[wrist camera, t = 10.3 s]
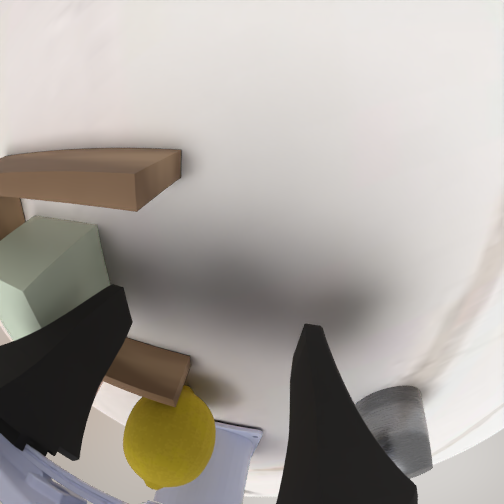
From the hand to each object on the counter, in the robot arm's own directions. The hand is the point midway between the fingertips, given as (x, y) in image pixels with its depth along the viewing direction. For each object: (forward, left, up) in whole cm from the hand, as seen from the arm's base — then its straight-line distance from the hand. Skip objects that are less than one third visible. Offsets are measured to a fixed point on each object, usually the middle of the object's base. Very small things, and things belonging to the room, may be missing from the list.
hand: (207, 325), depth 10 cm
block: (0, +8, -2) cm, 8 cm away
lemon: (-9, +2, -2) cm, 9 cm away
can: (-8, -12, -2) cm, 15 cm away
